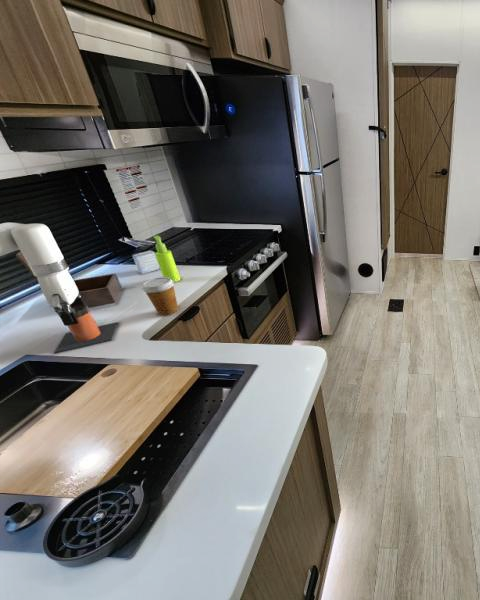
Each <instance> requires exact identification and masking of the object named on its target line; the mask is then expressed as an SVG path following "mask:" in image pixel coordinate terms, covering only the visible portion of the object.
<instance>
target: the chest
mask: <svg viewBox="0 0 480 600" xmlns="http://www.w3.org/2000/svg"><path fill="white" fill-rule="evenodd" d="M73 280H74V282H75V284H76V286H77V288H78V291H79V293H78V294H80V296H81V298H82V300H83V302H84V304H85V305H87V306H88V308H89V309H91V308H96V307H101V306H106V305H112V304H116V302H117V299H118V298H119V296H120V293H121V291H122V289H123V288H122V287H123V286H122V284H121V282H120V280H119V278H118V275H117V273H115V272H114V273H109V274H102V275H96V276H91V277H84V278H78V279H73ZM79 299H80V298H79ZM64 303H66V302H64ZM60 304H63V303H60ZM70 307H71V305H70ZM62 308H65V309H66V306H64V307H62Z"/></svg>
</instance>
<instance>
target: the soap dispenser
mask: <svg viewBox="0 0 480 600" xmlns="http://www.w3.org/2000/svg"><path fill="white" fill-rule="evenodd" d="M152 238H153V239H155V242H156V244H155V245H154V246H155V249H156V251H155V256H156V259H157V261H158V264H159V267H160V269H159V270H160V272H161V274H162V277H169V278H171V280H172V281H174V283H177V282H179V281H181V280H182V279H181V275H180V273H179V270H178V267H177V264H176V261H175V259H174V256H173V253H172V251H171V250H170V249H167V246H166V243H163V242H162V237H161V236H160V235H153V236H152Z"/></svg>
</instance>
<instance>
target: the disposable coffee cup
mask: <svg viewBox="0 0 480 600" xmlns="http://www.w3.org/2000/svg"><path fill="white" fill-rule="evenodd" d="M174 283H175V282H174V281H172V280H171V278H169V277H163V276H160V277H155V278H151V279H149V280H146V281H144V282H143V283H142V288H141V289H142V291H143V292H144V293H145V294H146V295H147V297H148V299H149V300H150V302H151V304H152V306H153V308H154V309H155V310H156V312H157V314H158V315H160V316H168V315H171V314H174V313H177V311H178V310H179V306H178V302H177V296H176V291H175V286H174V285H175V284H174Z"/></svg>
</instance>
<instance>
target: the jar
mask: <svg viewBox="0 0 480 600" xmlns="http://www.w3.org/2000/svg"><path fill="white" fill-rule="evenodd" d="M70 308H71V312H74V314H75V316H76V318H77V320H78V324H73V325H68V326H67V328H68V330H69V331H70V332H71V333H72V335H73V337H74V338H75V340H76V341H78V342H83V341H88V340H91V339H93V338H95V337H97V336H99V335H100V333H101V332H100V330H99V328H98V326H99V325H98V324H97V322H96V320H95V318H94V317H93V315H92V312H91V311H90V308H88V306H87V305H76V306H72V307H70Z"/></svg>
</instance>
